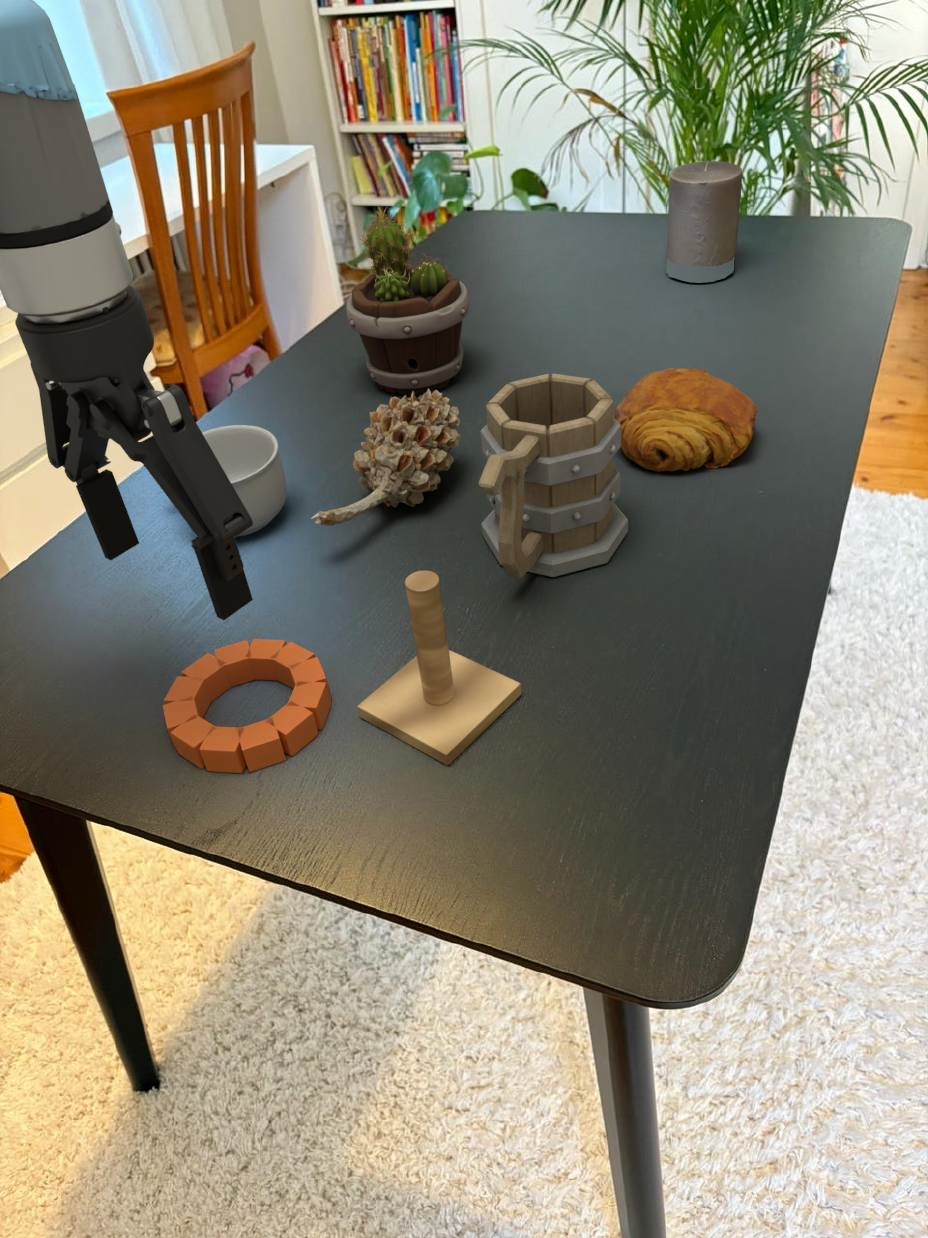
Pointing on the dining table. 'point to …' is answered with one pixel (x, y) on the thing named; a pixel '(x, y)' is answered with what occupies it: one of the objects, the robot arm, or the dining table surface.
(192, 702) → the ring
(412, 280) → the flowerpot
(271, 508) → the teacup
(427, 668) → the rack
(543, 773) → the dining table surface
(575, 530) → the tankard
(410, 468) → the pine cone
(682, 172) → the pillar candle
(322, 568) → the dining table surface
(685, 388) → the croissant
